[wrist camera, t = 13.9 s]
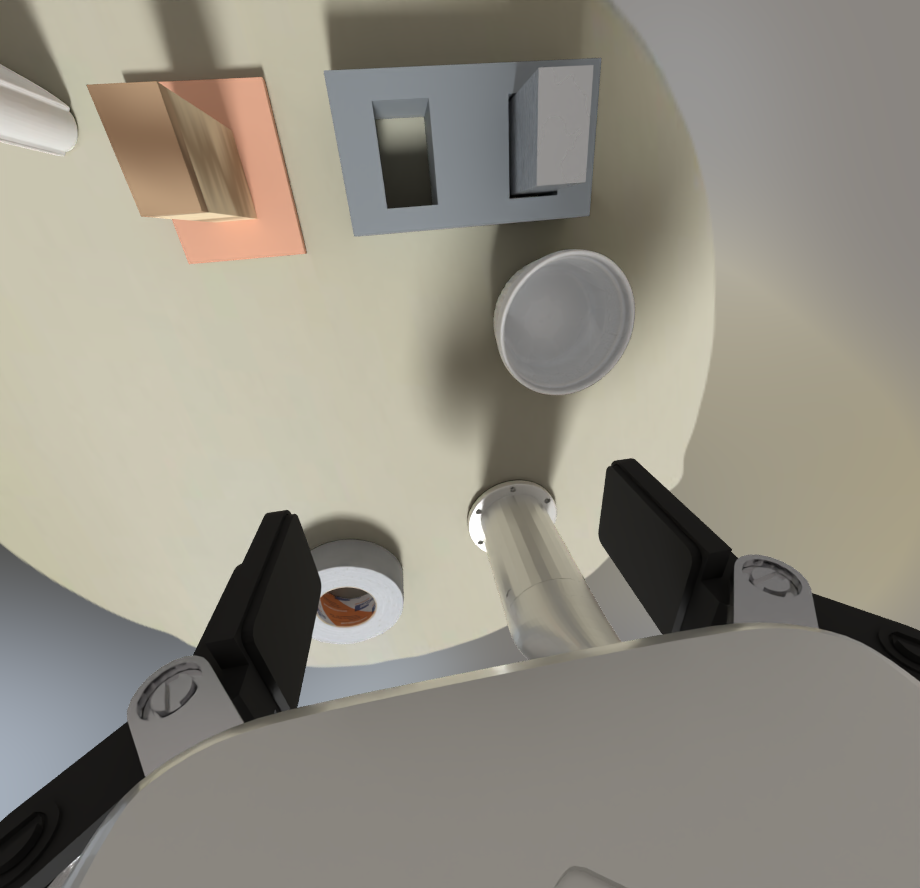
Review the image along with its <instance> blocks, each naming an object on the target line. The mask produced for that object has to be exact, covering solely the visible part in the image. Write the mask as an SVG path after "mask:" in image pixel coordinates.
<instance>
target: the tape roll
mask: <svg viewBox="0 0 920 888" xmlns="http://www.w3.org/2000/svg"><path fill="white" fill-rule="evenodd" d="M311 554H312V557H313V560H314V562H315V565H316V568H317V571H318V574H319V576H320V579H321V595H320V600H319V605H318V610H317V615H316V620H315V624H314V629H313V634H312V638H313V639H315V640H318V641H321V642H326V643H334V644H351V643H357V642H361V641H365V640H367V639H370V638H373V637H375V636H377V635H380V634H383V633H384V632H385V631H387V630H388V629H389V628H391V627H392V626H393V625H394V624H395V623H396V621H397V620H398V619H399V617H400V616H401V614H402V610H403V603H404V591H403V571H402V567H401V565H400V563H399V561H398V560H397V558H396V557H395V556H394V555H393V554H392V553H391V552H389V551H388V550H387V549H385V548H383V547H382V546H379V545H377V544H374V543H371V542H367V541H363V540H352V539H349V540H338V541H333V542H329V543H326V544H323V545H320V546H318V547H316V548H315V549H313V550H311ZM344 587H351V588H357V589H361V590H363V591H366V592H367V594H366V595H364V596H361V597H358V598H351V599H346V598H340V597H336V596H334V595H332V594H330V593H329V591H331V590H334V589H338V588H344Z"/></svg>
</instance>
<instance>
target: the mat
mask: <svg viewBox="0 0 920 888" xmlns="http://www.w3.org/2000/svg"><path fill="white" fill-rule="evenodd" d="M159 83H160V84H162V85H163V86H165V87H166V88H168V89H169V90H171V91H172V92H174V93H175V94H177V95H178V96H180V97H181V98H183V99H184V100H186V101H188V102H189V103H191V104H192V105H194V106H195V107H197V108H198V109H200V110H201V111H203V112H204V113H206V114H207V115H209V116H210V117H212V118H214V119H215V120H217V121H218V122H220V123H221V124H223V125H224V126H226V127H227V128H229V129H230V130H232V132H233V136H234V139H235V142H236V146H237V149H238V153H239V156H240V160H241V163H242V166H243V170H244V173H245V177H246V180H247V184H248V187H249V191H250V194H251V197H252V201H253V204H254V208H255V211H256V215H257V218H258V219H250V220H238V221H226V222H203V221H191V220H179V219H172V221H173V223H174V226H175V229H176V231H177V234H178V237H179V239H180V242H181V244H182V247H183V250H184V252H185V255H186V258H187V260H188V263H189V264H195V263H206V262H217V261H229V260H240V259H251V258H262V257H273V256H284V255H295V254H306V253H307V252H306V248H305V244H304V240H303V236H302V232H301V228H300V223H299V219H298V215H297V211H296V207H295V203H294V199H293V195H292V190H291V186H290V182H289V178H288V174H287V170H286V166H285V162H284V157H283V153H282V149H281V145H280V141H279V137H278V133H277V128H276V124H275V120H274V116H273V112H272V108H271V104H270V100H269V95H268V91H267V87H266V83H265V80H264V79H263V78H262V77H252V78H230V79H209V80H188V81H167V82H159Z"/></svg>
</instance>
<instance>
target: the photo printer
mask: <svg viewBox="0 0 920 888" xmlns="http://www.w3.org/2000/svg"><path fill="white" fill-rule="evenodd" d="M69 110H70V108H69V107H68V106H67V105H66V104H65V103H63V102H62V101H61V100H60V99H58V98H57V97H55V96H54V95H52V94H51V93H49V92H48V91H46V90H45V89H43V88H41V87H40V86H38V85H36V84H35V83H33V82H31V81H29V80H28V79H26V78H24V77H23V76H21V75H19V74H17V73H15V72H14V71H12V70H10V69H8V68H7V67H5V66H3V65H1V64H0V142H3V143H7V144H11V145H15V146H19V147H23V148H27V149H31V150H35V151H40V152H44V153H48V154H52V155H57V156H65V152H66V151H70V150H72V149H73V147H74V146H75V144H76V142H77V138H78V130H77V125H76V122H75V119H74V117H73V115H72V114H71V113H70V112H69Z"/></svg>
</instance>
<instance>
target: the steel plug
mask: <svg viewBox="0 0 920 888" xmlns="http://www.w3.org/2000/svg"><path fill="white" fill-rule="evenodd" d="M593 66H594V65H583V66H562V67H541V68H538V69H537V70H536V71H535V72H534V74H533V75H532V76H531V77H530V78H529V80H528V81H527V82H526V83H525V84H524V85H523V87H522V88H521V89H520V90H519V91H518V92H517V94H516V95H515V96H514V97H513V98H512V99H511V101H510V102H509V103H508V120H509V199H512V198H524V197H535V196H539V195H542V194H546V193H549V192H553V191H556V190H560V189H563V188H567V187H570V186H574V185H577V184H581V183H584V182H586V169H587V154H588V140H589V125H590V110H591V96H592V81H593Z"/></svg>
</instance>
